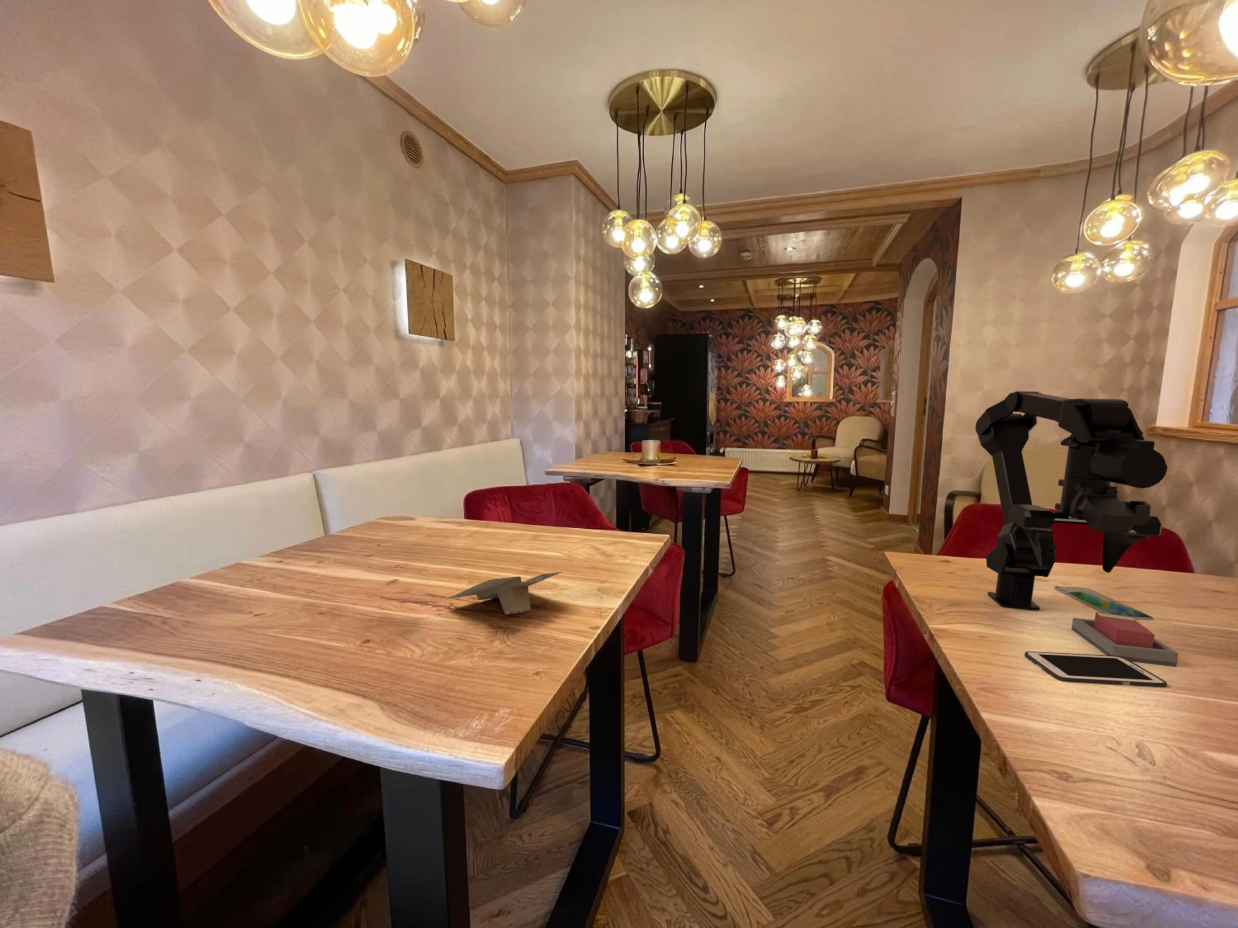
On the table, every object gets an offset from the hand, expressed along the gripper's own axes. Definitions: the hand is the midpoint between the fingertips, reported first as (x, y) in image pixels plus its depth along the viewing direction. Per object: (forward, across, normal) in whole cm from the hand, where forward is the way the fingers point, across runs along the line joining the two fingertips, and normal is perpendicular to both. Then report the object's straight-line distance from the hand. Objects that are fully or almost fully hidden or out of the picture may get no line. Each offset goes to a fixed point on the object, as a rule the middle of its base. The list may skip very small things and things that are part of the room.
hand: (1073, 569), depth 86 cm
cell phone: (+12, -3, -12) cm, 17 cm away
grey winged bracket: (+12, -96, -13) cm, 97 cm away
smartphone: (+12, +16, +18) cm, 28 cm away
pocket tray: (+12, +7, -2) cm, 14 cm away
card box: (+11, +7, -2) cm, 13 cm away
